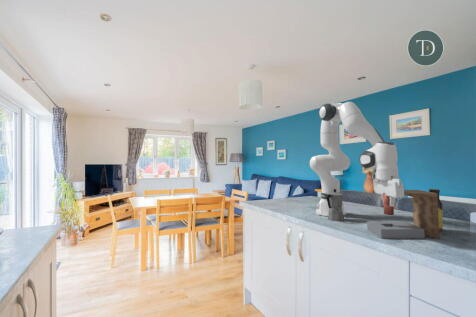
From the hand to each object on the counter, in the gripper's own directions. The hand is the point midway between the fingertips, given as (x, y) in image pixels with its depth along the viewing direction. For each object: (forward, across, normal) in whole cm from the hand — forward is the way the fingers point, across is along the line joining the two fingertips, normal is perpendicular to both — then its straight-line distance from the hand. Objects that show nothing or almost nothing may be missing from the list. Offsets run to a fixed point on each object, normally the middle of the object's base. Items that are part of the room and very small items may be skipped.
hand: (388, 205), depth 113 cm
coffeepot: (+13, +29, +16) cm, 36 cm away
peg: (+4, 0, 0) cm, 4 cm away
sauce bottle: (+14, +6, -24) cm, 28 cm away
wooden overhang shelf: (+13, 0, -12) cm, 18 cm away
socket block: (+13, 0, -2) cm, 13 cm away
